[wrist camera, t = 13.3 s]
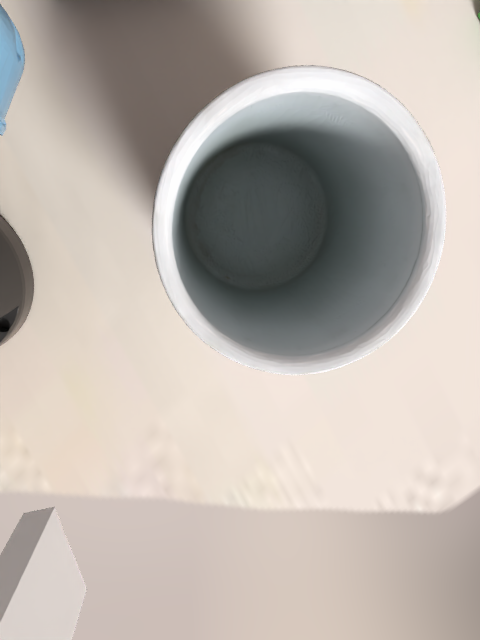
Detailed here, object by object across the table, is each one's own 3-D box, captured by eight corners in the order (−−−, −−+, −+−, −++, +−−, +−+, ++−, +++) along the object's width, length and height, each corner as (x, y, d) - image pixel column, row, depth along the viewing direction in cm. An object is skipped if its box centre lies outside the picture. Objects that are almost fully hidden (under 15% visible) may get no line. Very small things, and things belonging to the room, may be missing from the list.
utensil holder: (309, 98, 34) (413, 7, 17) (357, 263, 38) (476, 317, 22) (146, 165, 34) (93, 139, 18) (213, 320, 39) (221, 416, 22)
